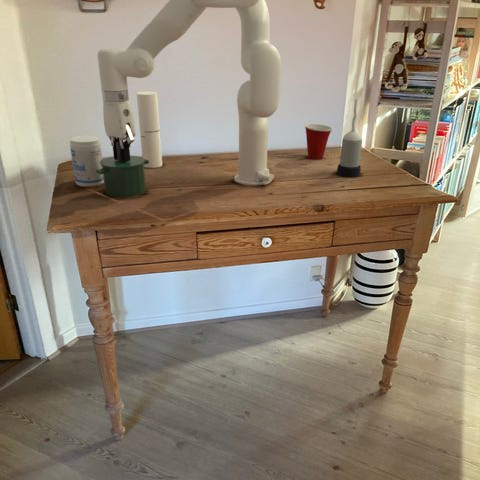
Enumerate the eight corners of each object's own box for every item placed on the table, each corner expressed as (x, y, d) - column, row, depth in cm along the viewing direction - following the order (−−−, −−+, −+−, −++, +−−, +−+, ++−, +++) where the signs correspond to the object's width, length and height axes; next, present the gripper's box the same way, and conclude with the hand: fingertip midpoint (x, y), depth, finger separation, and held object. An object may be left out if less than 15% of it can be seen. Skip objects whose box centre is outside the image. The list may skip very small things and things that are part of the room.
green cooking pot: (160, 190, 169) (158, 161, 164) (113, 203, 158) (109, 172, 153) (137, 182, 177) (134, 153, 172) (90, 194, 166) (86, 164, 161)
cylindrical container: (158, 168, 192) (153, 95, 179) (140, 167, 193) (133, 94, 180) (164, 163, 198) (160, 91, 185) (146, 162, 199) (141, 91, 186)
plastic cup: (331, 161, 202) (334, 128, 195) (303, 161, 202) (306, 128, 195) (328, 154, 211) (331, 123, 205) (301, 154, 211) (303, 122, 205)
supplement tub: (69, 185, 173) (62, 140, 165) (87, 178, 180) (80, 134, 173) (94, 189, 170) (88, 142, 162) (111, 181, 177) (105, 136, 170)
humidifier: (337, 170, 191) (344, 96, 178) (360, 171, 190) (369, 97, 177) (336, 176, 184) (344, 100, 171) (359, 177, 183) (369, 101, 170)
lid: (153, 164, 163) (151, 142, 159) (116, 173, 155) (114, 150, 151) (128, 156, 171) (125, 135, 168) (91, 164, 163) (88, 142, 159)
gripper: (142, 98, 150) (148, 163, 160) (110, 92, 160) (117, 153, 169) (120, 101, 145) (127, 167, 155) (89, 94, 155) (97, 157, 165)
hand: (122, 159), depth 162 cm, fingers closed on lid, 2 cm apart
